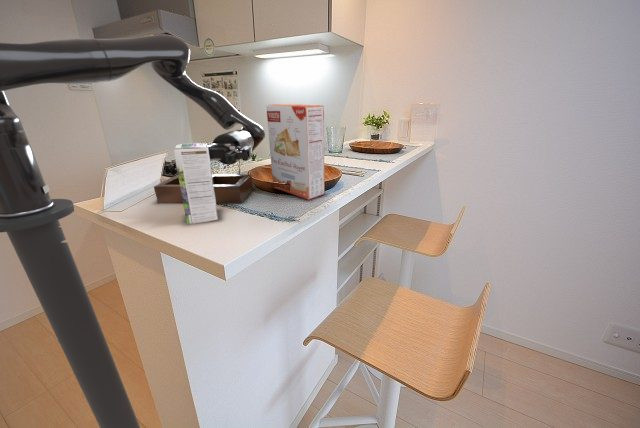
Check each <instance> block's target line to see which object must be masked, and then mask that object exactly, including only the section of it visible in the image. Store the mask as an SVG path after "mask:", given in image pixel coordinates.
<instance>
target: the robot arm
mask: <svg viewBox="0 0 640 428" xmlns="http://www.w3.org/2000/svg"><path fill="white" fill-rule="evenodd" d="M190 55H191V50H190V47H189V46H188V44H187V43H186V41H184V40H183V39H181V38H180V37H177V36H176V35H172V34H165V33H161V34H160V33H158V34H150V35H143V36H136V37H119V38H118V37H117V38H64V39H63V38H62V39H52V40H51V39H50V40H43V41H37V42H30V43H29V42H27V43H25V42H24V43H16V42H15V43H14V42H13V43H12V42H0V218H2V219H9V218H19V217H25V216H30V215H34V214H38V213H41V212H44V211H47V210H49V209H51V208H53V207H54V203H53V201H52V200H51V199H52V197H51V195H50V191H51V189H50V186H49V184H48V183H47V184H46V182H45V179H44V177H43V174H42V171H41V168H40V166H39V164H38V161H37V159H36V156H35V154H34V151H33V149H32V146H31V144H30V142H29V138H28V136H27V134H26V131H25V129H24V126H23V123H22V121H21V119H20V117H19V116H18V115H17V114H16V113H15V112H14V110H13V109H12V107H11V104H10V103H9V101H8V98H7V96H6V94H5V91H6V92H7V91H10V90H15V89H19V88H25V87H30V86H36V85H43V84H59V85H61V84H62V85H85V84H98V83H106V82H112V81H117V80H119V79H121V78H123V77H125V76H127V75H129V74H131V73H132V72H134V71H135V70H138V69H139V68H140V67H143V66H144V65H147V64H150V67H151V68H152V70H153V71H154V72H155V73H156V75H158V76H159V77H160V78H161V79H162V80H163V81H165V82H166V83H168V84H169V85H170V86H172V87H173V88H174V89H176V90H177V91H179V92H180V93H181V94H183V95H184V96H185V97H187V98H188V99H190V100H191V101H192V102H194V103H195V104H196V105H198V106H199V107H200V108H201V109H202V110H204V112H206V114H208V115H209V116H210V117H211V119H213V120H214V122H216V123H217V124H218V125H219V126H220V127H221V128H222V129H223V130H225V131H227V132H224V133H222V134H219V135H217V136H216V137H215V138H214V139H213V140H212V143H211V144H208V151H209V157H210V162H214V161H215V162H219V163H220V164H223V165H228V166H229V165H235V164H236V163H237V162H240V160H242V161H243V162H247V161H249V160H250V159H251V158H252V157H253V152H254V151H255V150H256V149H257V147H259V145H260V144H261V143H262V142H263V141H264V140H265V138H266V132H265V129H264V128H263V127H262V126H261V125H260V124H259V123H257V122H255V121H253V120H252V119H251V118H249V117H247V116H245V115H244V114H242V113H241V112H239V111H238V110H237V109H236V107H234V106H233V105H232V104H231V102H229V100H228V99H226V98H225V97H224V96H223V95H222V94H220V93H218V92H217V91H214V90H211V89H209V88H206V87H202V86H200V85H198V84H197V83H195V82H194V81H193V80H192V79H191V78H190V77H189V76H188V75H187V74H186V70H187V67H188V64H189V61H190ZM238 125H241V126H242V127H241V129H236V130H232V129H233V128H235V127H236V126H238ZM229 130H231V131H229Z"/></svg>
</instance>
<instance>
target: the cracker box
mask: <svg viewBox="0 0 640 428" xmlns="http://www.w3.org/2000/svg"><path fill="white" fill-rule="evenodd" d="M265 107H266V118H267V130H268V143H269V152H270V153H269V154H270V165H271V179H272V183H273V182H278V183H285V184H290V191H289V190H286V189H283V188H280V187H273V186H272V188H273V189H276V190H279V191H281V192H285V193H287V194H289V195H293V196H296V197H298V198H302V199H305V200H308V201H310V200H312V199H315V198H318V197H321V196H324V195H325V194H326V193H325V191H326V189H325V187H326V186H325V183H326V182H325V108H324V107H325V106H324V105H321V104H303V103H278V104H277V103H273V104H267V105H266V106H265Z"/></svg>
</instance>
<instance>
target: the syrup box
mask: <svg viewBox="0 0 640 428" xmlns="http://www.w3.org/2000/svg"><path fill="white" fill-rule="evenodd" d="M208 145H209V144H208V143H204V142H187V143H186V142H185V143H179V144H176V146H175V147H174V148H173V155H174V161H175V165H176V171H177V172H176V173H177V175H178V178H179V183H180V188H181V194H182V199H183V203H182V205H183V209H184V214H185V215H184V216H185V221H186V224H187V225H195V224H200V223H206V222H212V221H213V222H214V221H218V220H219V217H218V209H217V203H216V200H215V192H214V185H213V178H212V175H213V172H212V164H211V161H210V157H209V151H208Z"/></svg>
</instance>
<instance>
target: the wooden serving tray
mask: <svg viewBox="0 0 640 428" xmlns="http://www.w3.org/2000/svg"><path fill="white" fill-rule="evenodd" d="M212 178H213V185H214V192H215V200H216V204H242V203H243V202H244V201H245V199H246V198H247V197H248V196H249V194H250V193H251V192H252V191H253V190H254V188H253V178H252V174H212ZM153 189H154V194H155V198H156V202H157V203H158V204H183V199H182V194H181V188H180V183H179V178H178V174H176V175H174V176H171V177H170V178H168V179H166V180H164V181H162V182H160V183H158V184H156V185H154V186H153Z"/></svg>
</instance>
